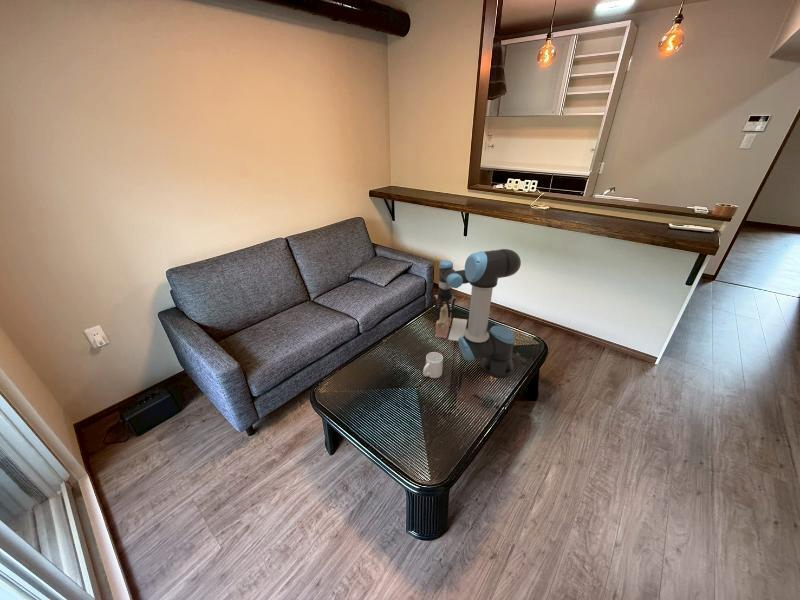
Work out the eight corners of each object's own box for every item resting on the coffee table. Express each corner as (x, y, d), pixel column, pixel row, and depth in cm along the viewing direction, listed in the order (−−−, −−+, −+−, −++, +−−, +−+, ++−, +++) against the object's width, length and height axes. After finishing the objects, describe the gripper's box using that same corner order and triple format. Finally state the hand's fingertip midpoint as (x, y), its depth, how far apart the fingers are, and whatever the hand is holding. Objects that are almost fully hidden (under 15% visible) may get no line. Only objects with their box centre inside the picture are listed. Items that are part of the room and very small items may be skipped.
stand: (451, 319, 198) (452, 307, 193) (446, 338, 180) (447, 325, 176) (440, 318, 199) (441, 306, 195) (435, 336, 182) (435, 324, 178)
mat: (467, 320, 196) (467, 319, 196) (463, 342, 176) (463, 341, 176) (453, 318, 199) (453, 318, 198) (447, 340, 178) (448, 339, 178)
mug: (429, 385, 147) (429, 368, 142) (417, 376, 153) (417, 360, 148) (445, 373, 154) (446, 357, 149) (433, 365, 160) (434, 349, 155)
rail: (449, 309, 195) (449, 305, 193) (444, 328, 176) (444, 323, 175) (444, 309, 196) (444, 304, 194) (438, 327, 177) (438, 322, 176)
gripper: (460, 285, 177) (458, 319, 188) (432, 282, 181) (431, 316, 192) (458, 290, 171) (456, 325, 182) (429, 288, 175) (429, 322, 186)
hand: (444, 320), depth 187 cm, fingers closed on rail, 3 cm apart
